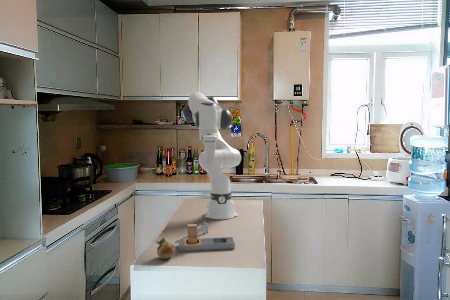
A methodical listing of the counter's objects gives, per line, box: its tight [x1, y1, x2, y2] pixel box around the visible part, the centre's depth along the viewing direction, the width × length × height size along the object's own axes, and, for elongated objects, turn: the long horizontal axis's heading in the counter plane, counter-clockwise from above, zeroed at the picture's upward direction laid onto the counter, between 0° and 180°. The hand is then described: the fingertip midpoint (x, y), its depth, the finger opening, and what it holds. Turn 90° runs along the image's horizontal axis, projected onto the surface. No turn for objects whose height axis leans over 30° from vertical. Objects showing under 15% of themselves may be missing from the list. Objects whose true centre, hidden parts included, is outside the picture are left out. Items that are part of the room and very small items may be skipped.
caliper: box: [174, 221, 209, 244], centre depth 180 cm, size 20×1×6 cm, turn 136°
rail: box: [178, 236, 236, 253], centre depth 166 cm, size 9×24×3 cm, turn 95°
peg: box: [187, 223, 198, 244], centre depth 165 cm, size 4×4×10 cm
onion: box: [155, 237, 176, 260], centre depth 154 cm, size 8×8×8 cm
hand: (209, 165), depth 180 cm, fingers open, 8 cm apart
